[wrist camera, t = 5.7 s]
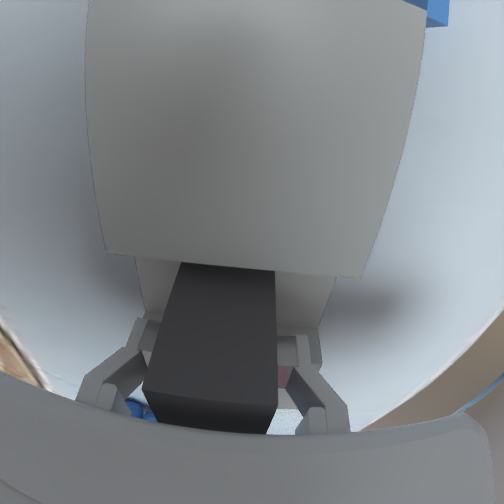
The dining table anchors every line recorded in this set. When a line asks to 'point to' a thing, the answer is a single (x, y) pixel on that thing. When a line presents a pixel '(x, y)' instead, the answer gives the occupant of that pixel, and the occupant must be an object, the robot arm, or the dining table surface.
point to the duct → (251, 137)
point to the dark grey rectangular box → (216, 351)
